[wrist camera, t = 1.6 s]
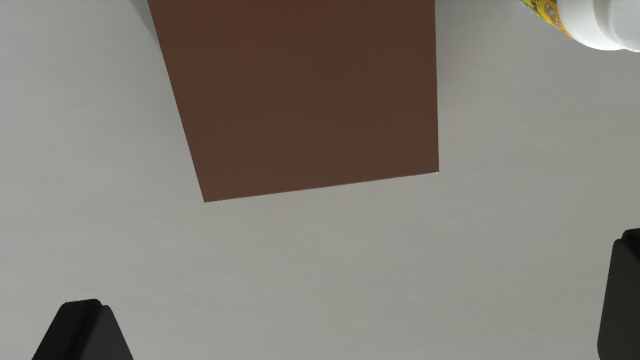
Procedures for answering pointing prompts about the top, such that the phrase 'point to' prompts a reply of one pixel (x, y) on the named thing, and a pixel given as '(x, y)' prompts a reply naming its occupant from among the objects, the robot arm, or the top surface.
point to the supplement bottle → (593, 21)
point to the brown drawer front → (302, 91)
